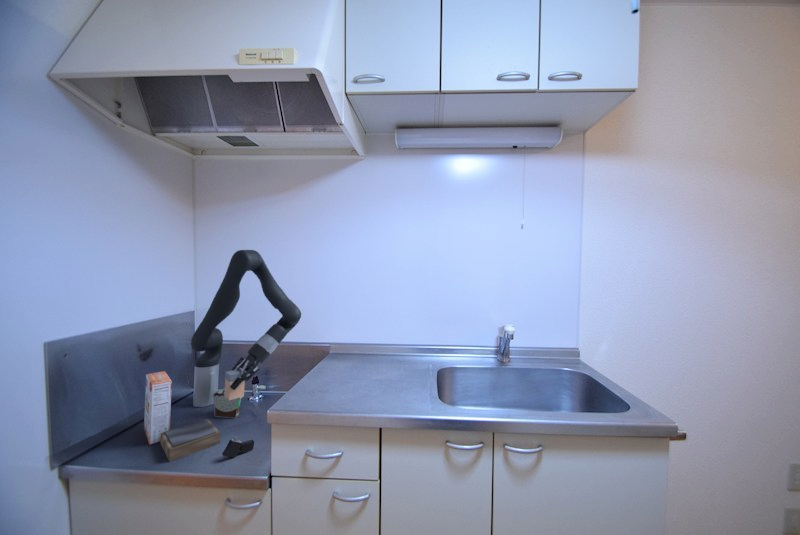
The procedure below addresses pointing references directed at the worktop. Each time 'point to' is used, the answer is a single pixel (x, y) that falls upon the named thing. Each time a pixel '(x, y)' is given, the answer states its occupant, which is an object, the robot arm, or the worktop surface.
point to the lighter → (237, 447)
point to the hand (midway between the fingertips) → (229, 386)
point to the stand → (189, 439)
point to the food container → (225, 405)
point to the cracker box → (157, 405)
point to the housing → (229, 379)
